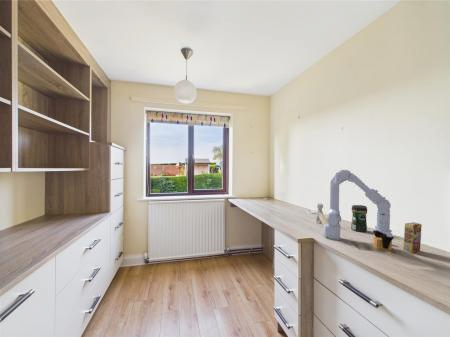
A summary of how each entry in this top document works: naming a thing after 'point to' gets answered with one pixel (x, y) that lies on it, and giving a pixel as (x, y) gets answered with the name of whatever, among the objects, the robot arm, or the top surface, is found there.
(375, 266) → the top surface
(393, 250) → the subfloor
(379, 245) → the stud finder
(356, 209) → the coffee jar
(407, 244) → the candy box
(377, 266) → the top surface
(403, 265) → the top surface
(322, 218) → the hammer
